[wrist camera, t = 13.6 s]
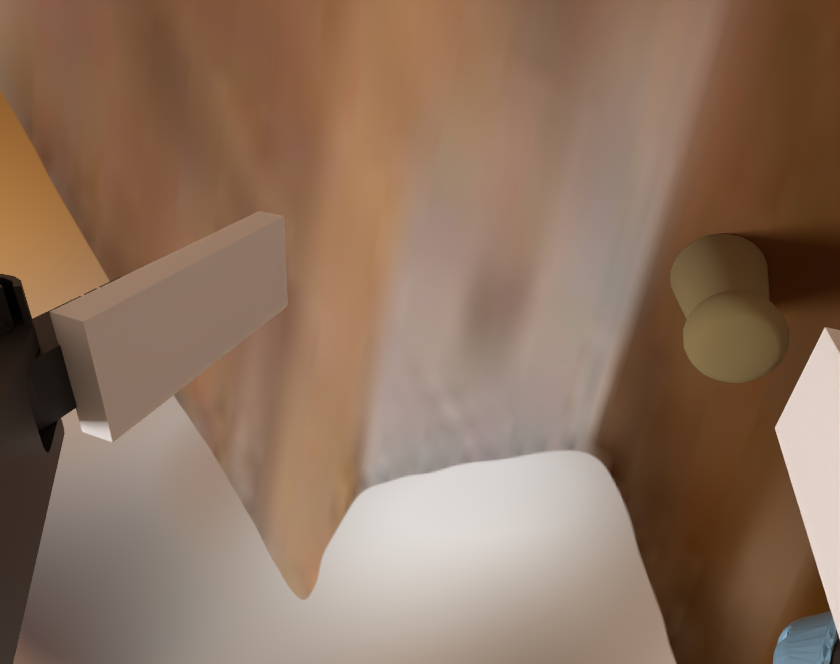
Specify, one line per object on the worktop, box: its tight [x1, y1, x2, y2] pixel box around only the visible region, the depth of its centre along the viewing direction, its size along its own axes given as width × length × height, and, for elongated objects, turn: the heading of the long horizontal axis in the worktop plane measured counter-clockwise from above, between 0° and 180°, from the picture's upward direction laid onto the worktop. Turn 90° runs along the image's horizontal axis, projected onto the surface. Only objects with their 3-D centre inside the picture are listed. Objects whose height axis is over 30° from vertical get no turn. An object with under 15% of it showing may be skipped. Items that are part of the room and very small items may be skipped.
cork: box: [670, 234, 789, 383], centre depth 35 cm, size 6×6×11 cm
